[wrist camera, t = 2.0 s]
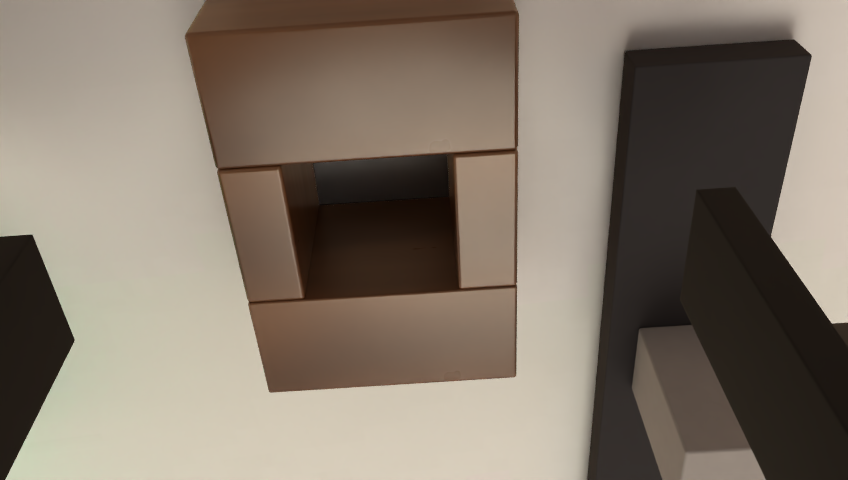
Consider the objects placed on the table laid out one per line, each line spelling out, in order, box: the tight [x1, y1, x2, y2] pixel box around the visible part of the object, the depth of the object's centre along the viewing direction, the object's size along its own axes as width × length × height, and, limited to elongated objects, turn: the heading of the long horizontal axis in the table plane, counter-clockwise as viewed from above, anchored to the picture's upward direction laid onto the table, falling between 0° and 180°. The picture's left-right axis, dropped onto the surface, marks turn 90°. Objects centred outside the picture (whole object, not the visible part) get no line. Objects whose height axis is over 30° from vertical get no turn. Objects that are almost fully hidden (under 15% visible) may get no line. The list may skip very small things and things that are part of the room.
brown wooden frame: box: [185, 0, 519, 392], centre depth 18 cm, size 9×6×4 cm, turn 3°
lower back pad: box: [588, 40, 812, 480], centre depth 22 cm, size 18×4×6 cm, turn 3°
